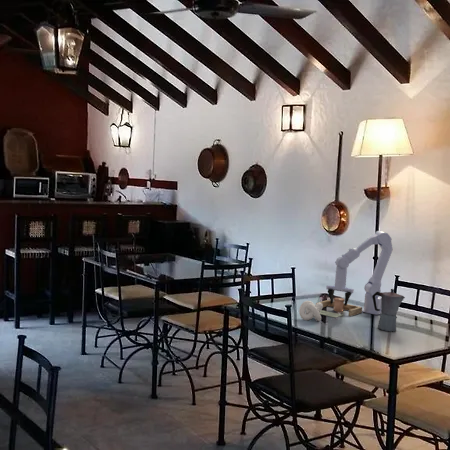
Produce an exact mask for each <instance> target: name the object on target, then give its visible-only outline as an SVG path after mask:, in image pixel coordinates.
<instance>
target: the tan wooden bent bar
mask: <svg viewBox="0 0 450 450" xmlns="http://www.w3.org/2000/svg"><path fill="white" fill-rule="evenodd" d="M319 302H320V303H322V304H323V308H326V307H332V308H334V300H333V303H332V304H331V302H330V299H327V300H323V301H318V302H316V303H315V305H316V304H317V303H319ZM344 310H346V311H348V317H353V316H356V315H359V314H362V313H363V312H362V310H363V307H362V306H358V305H354V304H349V303H347V305H346V306H344V305H343V311H344Z"/></svg>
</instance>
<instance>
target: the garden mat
mask: <svg viewBox="0 0 450 450" xmlns="http://www.w3.org/2000/svg"><path fill="white" fill-rule="evenodd" d="M320 315H322V316H326V317H330V318H338V317H342V316H343V314H341V313H338V312H331V311H327V310H321V311H320Z"/></svg>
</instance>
